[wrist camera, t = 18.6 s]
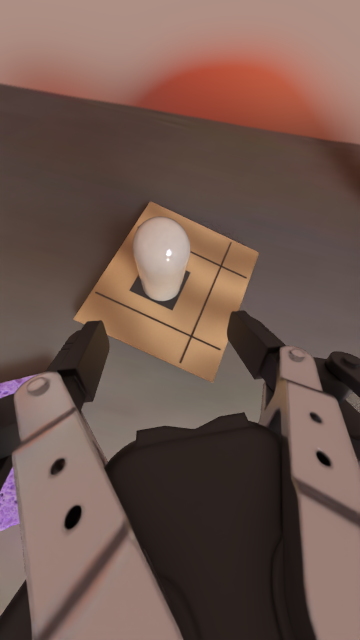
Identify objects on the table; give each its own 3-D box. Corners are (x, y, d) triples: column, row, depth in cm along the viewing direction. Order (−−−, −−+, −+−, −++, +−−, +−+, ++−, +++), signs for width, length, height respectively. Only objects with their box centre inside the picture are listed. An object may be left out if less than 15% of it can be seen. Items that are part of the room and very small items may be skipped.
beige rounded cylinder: (152, 258, 21) (146, 189, 12) (187, 274, 21) (206, 217, 13) (134, 290, 20) (113, 238, 11) (171, 307, 20) (179, 269, 11)
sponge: (59, 370, 18) (48, 371, 16) (68, 497, 16) (56, 515, 14) (-12, 385, 17) (-32, 389, 15) (-13, 525, 15) (-38, 549, 13)
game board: (150, 210, 25) (150, 200, 23) (253, 258, 25) (259, 252, 24) (79, 321, 20) (72, 318, 18) (209, 380, 20) (213, 383, 18)
